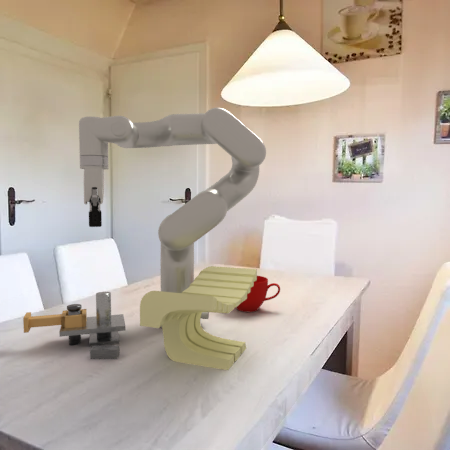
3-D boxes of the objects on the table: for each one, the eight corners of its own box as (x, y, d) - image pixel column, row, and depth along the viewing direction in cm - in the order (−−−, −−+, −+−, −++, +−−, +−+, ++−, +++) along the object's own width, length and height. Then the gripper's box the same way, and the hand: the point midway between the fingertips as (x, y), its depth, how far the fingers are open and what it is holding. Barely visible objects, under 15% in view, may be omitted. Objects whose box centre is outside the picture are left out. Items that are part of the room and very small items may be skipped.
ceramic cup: (278, 317, 121) (279, 284, 120) (224, 313, 124) (224, 282, 124) (281, 305, 134) (281, 276, 133) (231, 302, 137) (231, 274, 136)
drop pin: (84, 340, 100) (84, 304, 100) (77, 345, 97) (77, 308, 96) (72, 340, 101) (71, 303, 100) (64, 345, 97) (64, 307, 97)
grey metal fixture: (123, 331, 107) (122, 287, 106) (125, 344, 98) (125, 296, 97) (63, 337, 103) (62, 291, 102) (59, 351, 93) (58, 301, 92)
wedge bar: (119, 355, 92) (119, 345, 92) (117, 360, 89) (116, 349, 89) (93, 355, 92) (93, 345, 92) (90, 360, 89) (89, 349, 89)
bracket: (86, 321, 102) (86, 307, 102) (86, 328, 97) (85, 313, 97) (27, 326, 98) (26, 311, 98) (23, 333, 93) (22, 318, 92)
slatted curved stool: (200, 329, 109) (200, 265, 108) (256, 336, 104) (256, 269, 103) (140, 375, 81) (139, 289, 80) (212, 388, 76) (213, 296, 75)
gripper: (81, 165, 117) (82, 223, 118) (78, 160, 100) (79, 228, 101) (107, 166, 119) (108, 223, 120) (109, 161, 102) (110, 227, 104)
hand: (95, 225), depth 111 cm, fingers open, 9 cm apart
